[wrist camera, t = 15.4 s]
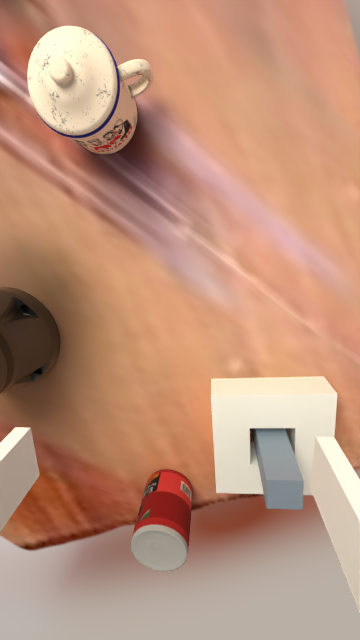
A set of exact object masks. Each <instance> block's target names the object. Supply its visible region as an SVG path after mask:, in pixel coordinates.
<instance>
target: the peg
mask: <svg viewBox="0 0 360 640" xmlns="http://www.w3.org/2000/svg"><path fill="white" fill-rule="evenodd" d="M253 440H254V445H255V451H256V456H257V461H258V466H259V472H260V477H261V482H262V487H263V493H264V498H265V503H266V508H267V509H298V510H300V509H301V510H302V509H303V489H304V480H303V477H302V474H301V472H300V469H299V466H298V463H297V461H296V458H295V455H294V452H293V449H292V447H291V444H290V441H289V438H288V436H287V433H286V430H285V428H253Z"/></svg>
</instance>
